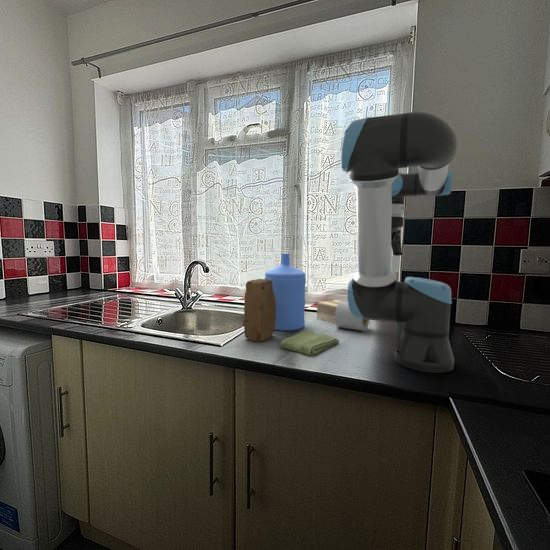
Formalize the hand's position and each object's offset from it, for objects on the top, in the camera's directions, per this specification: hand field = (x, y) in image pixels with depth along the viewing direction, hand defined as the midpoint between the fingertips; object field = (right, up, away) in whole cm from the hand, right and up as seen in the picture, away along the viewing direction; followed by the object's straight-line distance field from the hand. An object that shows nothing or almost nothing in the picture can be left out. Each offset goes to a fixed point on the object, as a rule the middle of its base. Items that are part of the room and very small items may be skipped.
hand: (389, 273), depth 126 cm
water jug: (-40, -21, +3) cm, 45 cm away
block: (-49, -22, -13) cm, 55 cm away
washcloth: (-33, -24, -20) cm, 45 cm away
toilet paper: (-14, -21, +1) cm, 26 cm away
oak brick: (-17, -20, +16) cm, 30 cm away
